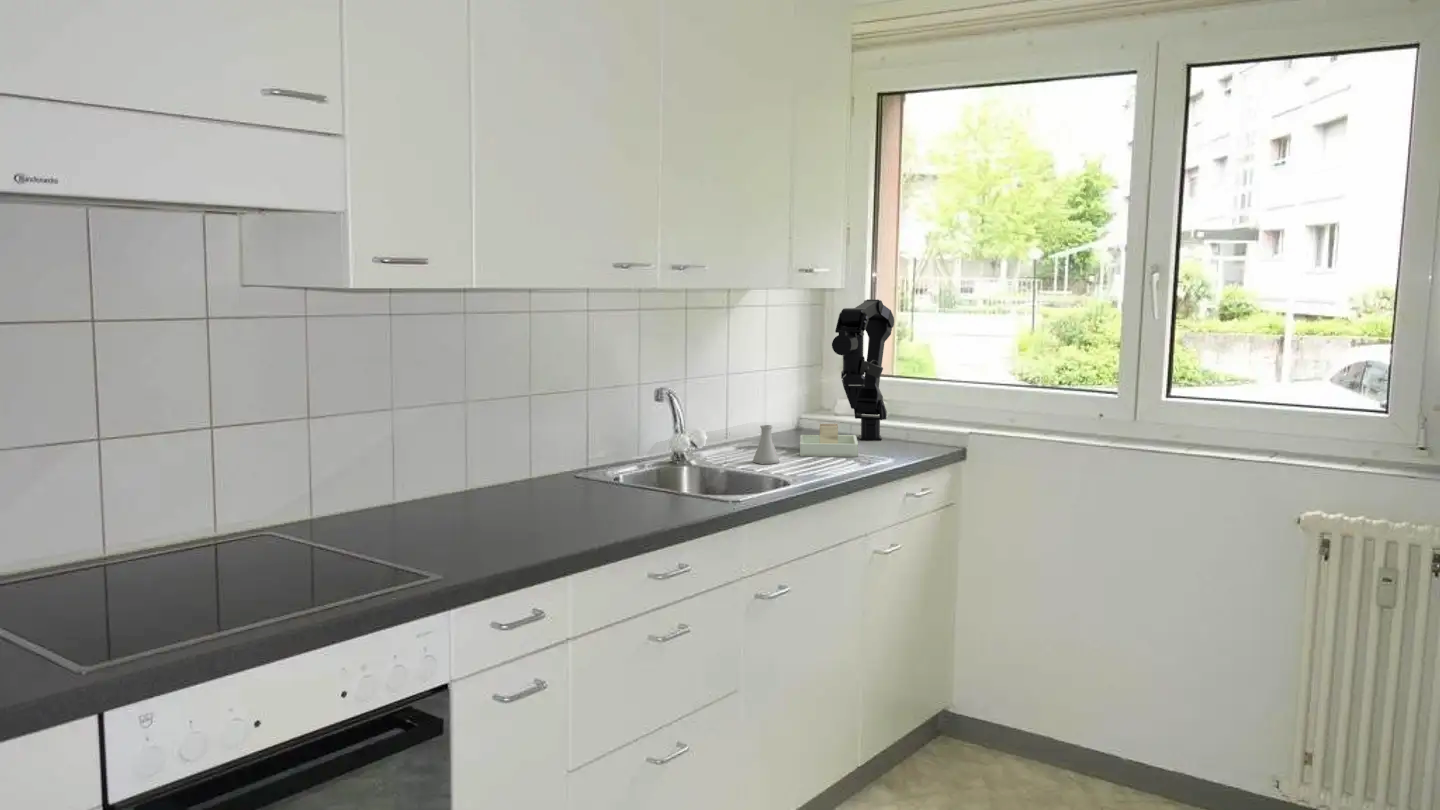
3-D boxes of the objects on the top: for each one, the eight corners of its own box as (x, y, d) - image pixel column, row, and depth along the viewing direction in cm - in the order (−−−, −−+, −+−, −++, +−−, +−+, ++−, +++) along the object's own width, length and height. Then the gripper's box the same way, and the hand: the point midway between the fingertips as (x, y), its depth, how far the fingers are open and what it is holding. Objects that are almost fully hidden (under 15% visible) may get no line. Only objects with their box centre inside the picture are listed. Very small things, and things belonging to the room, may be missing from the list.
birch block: (819, 448, 321) (819, 423, 320) (837, 448, 321) (837, 423, 320) (819, 451, 316) (820, 426, 316) (837, 451, 316) (837, 426, 315)
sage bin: (800, 446, 327) (800, 434, 327) (855, 447, 326) (855, 435, 326) (800, 456, 312) (800, 444, 311) (858, 456, 310) (858, 444, 310)
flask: (748, 461, 305) (748, 424, 304) (772, 459, 308) (772, 423, 307) (760, 465, 299) (760, 428, 297) (784, 463, 302) (784, 426, 300)
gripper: (883, 355, 312) (883, 411, 314) (879, 349, 330) (878, 402, 332) (843, 355, 313) (842, 410, 315) (841, 349, 331) (841, 402, 333)
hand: (852, 406), depth 324 cm, fingers open, 9 cm apart
